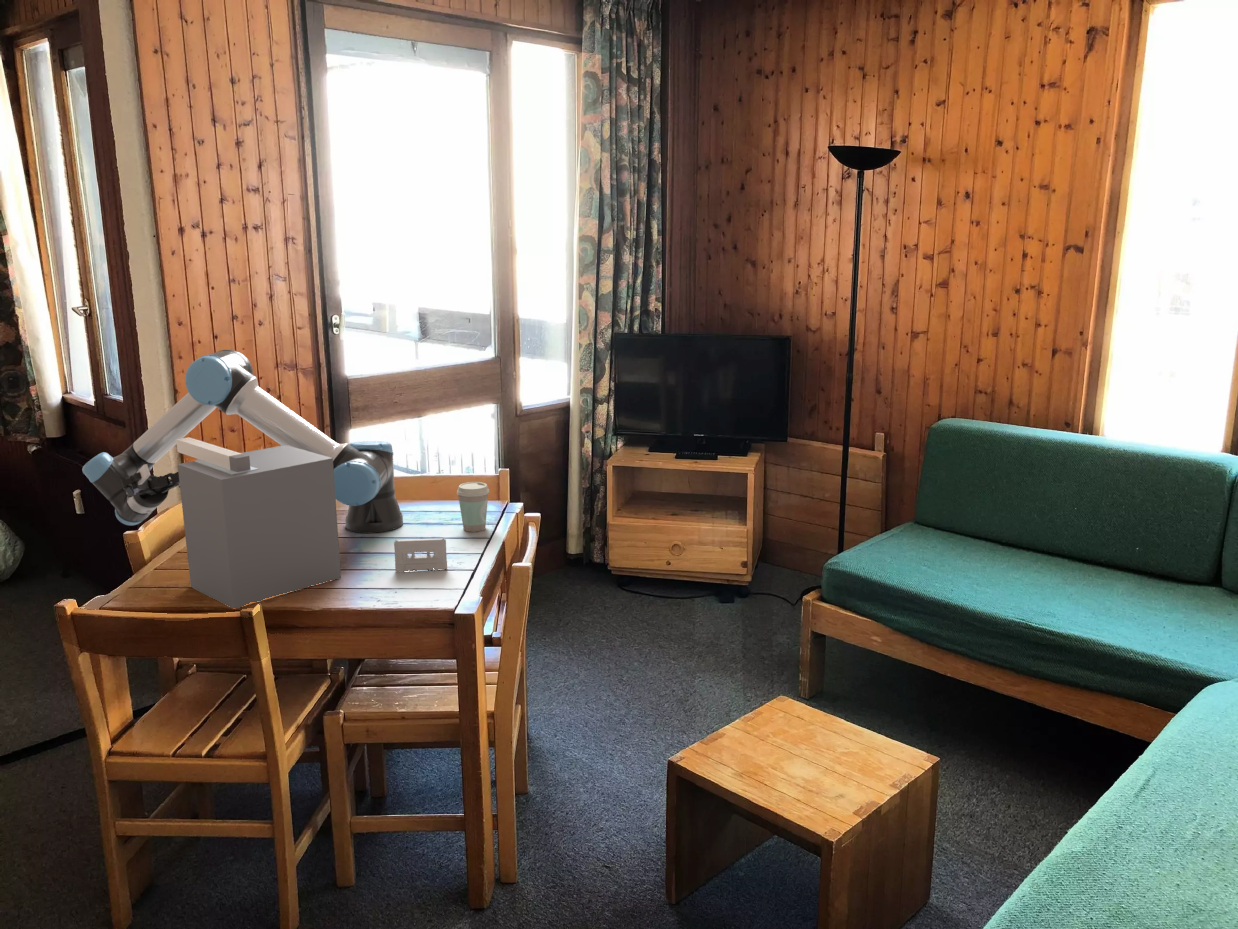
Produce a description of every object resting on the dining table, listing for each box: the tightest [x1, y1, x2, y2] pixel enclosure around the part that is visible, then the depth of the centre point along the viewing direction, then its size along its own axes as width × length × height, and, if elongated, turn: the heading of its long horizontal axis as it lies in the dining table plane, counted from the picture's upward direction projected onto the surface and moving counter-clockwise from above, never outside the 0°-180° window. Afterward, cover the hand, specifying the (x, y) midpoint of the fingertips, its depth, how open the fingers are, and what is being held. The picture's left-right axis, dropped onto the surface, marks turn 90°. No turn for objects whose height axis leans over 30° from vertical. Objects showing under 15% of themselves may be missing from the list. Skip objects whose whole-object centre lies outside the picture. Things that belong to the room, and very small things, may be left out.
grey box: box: [177, 445, 342, 609], centre depth 224 cm, size 20×26×29 cm
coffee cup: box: [456, 481, 490, 532], centre depth 266 cm, size 9×8×12 cm
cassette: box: [393, 538, 448, 572], centre depth 235 cm, size 12×2×8 cm, turn 97°
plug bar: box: [176, 436, 251, 472], centre depth 220 cm, size 28×3×3 cm, turn 48°
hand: (176, 464), depth 234 cm, fingers open, 13 cm apart
